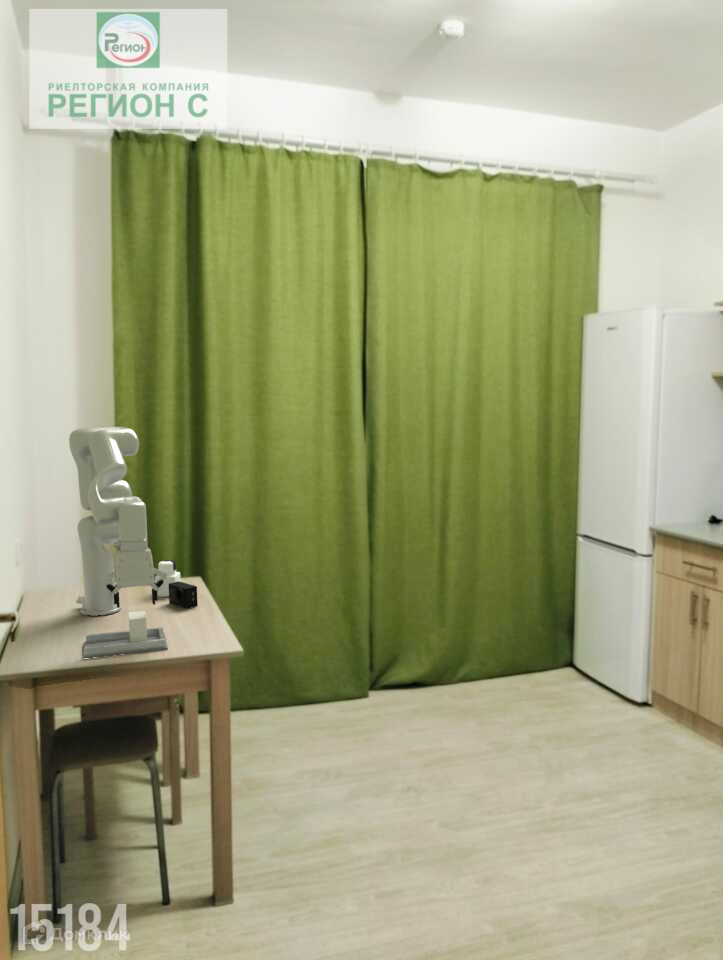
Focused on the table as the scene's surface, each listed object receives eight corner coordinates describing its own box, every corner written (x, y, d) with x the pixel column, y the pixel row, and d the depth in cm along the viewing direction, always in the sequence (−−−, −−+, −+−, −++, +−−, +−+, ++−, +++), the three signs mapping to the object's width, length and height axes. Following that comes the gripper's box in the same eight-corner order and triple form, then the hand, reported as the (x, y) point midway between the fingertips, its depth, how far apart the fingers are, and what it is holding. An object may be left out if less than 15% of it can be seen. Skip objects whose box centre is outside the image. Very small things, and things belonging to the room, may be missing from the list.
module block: (130, 647, 210) (129, 619, 209) (129, 639, 216) (128, 612, 215) (147, 645, 211) (146, 617, 210) (146, 637, 218) (145, 611, 217)
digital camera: (165, 604, 254) (165, 584, 253) (179, 600, 258) (178, 580, 257) (183, 610, 247) (182, 589, 246) (197, 606, 251) (196, 585, 250)
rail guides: (85, 656, 203) (84, 648, 203) (86, 641, 215) (86, 634, 215) (165, 646, 210) (165, 639, 210) (162, 633, 221) (162, 626, 221)
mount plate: (83, 659, 202) (83, 657, 202) (84, 643, 216) (84, 640, 216) (167, 649, 209) (167, 647, 209) (164, 634, 222) (164, 632, 222)
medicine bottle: (161, 591, 270) (159, 558, 269) (181, 591, 270) (179, 558, 268) (155, 596, 263) (153, 563, 262) (175, 596, 263) (174, 563, 261)
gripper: (100, 550, 204) (103, 611, 206) (166, 546, 209) (168, 605, 212) (100, 544, 211) (103, 604, 213) (164, 540, 216) (166, 598, 219)
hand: (136, 604), depth 213 cm, fingers open, 9 cm apart
